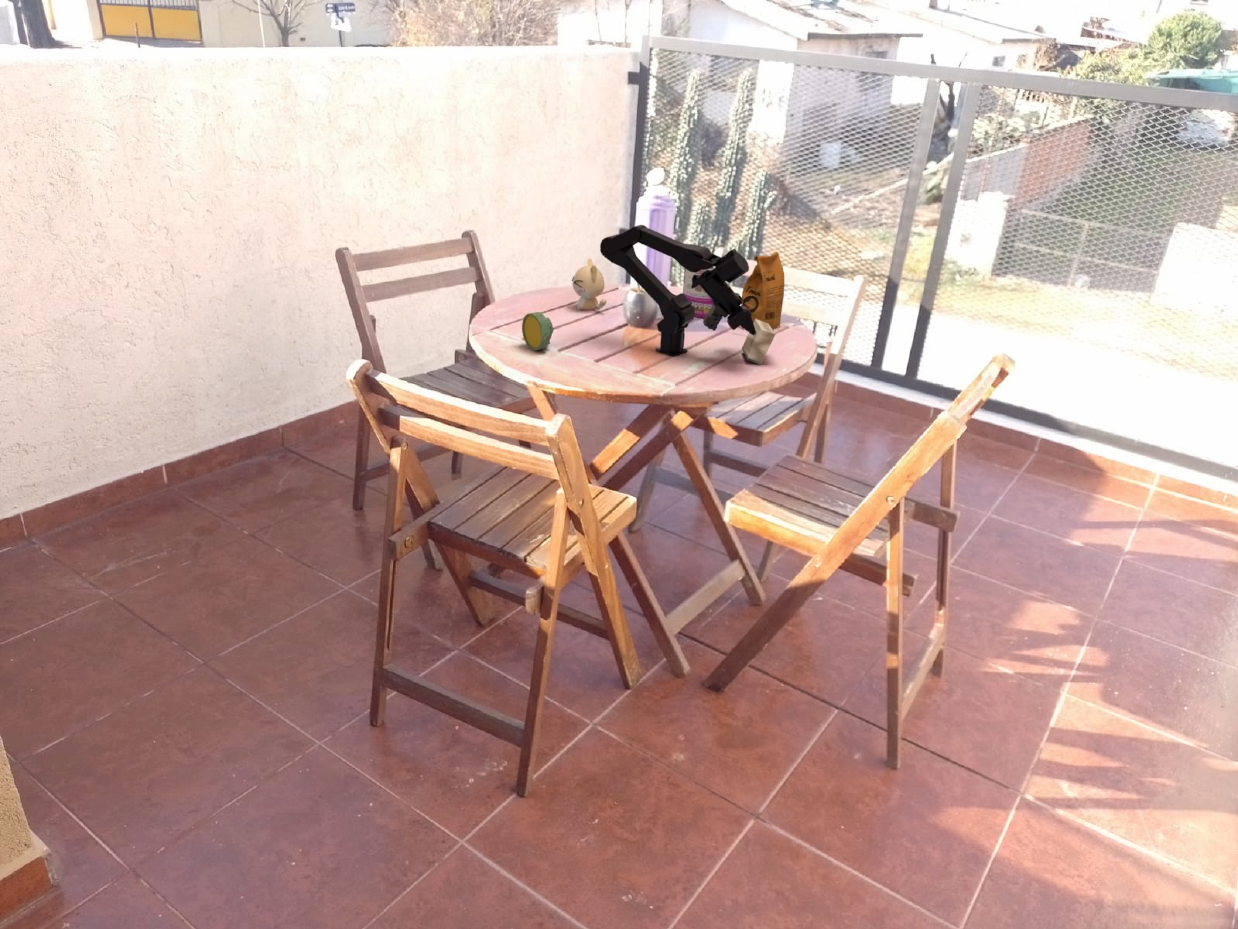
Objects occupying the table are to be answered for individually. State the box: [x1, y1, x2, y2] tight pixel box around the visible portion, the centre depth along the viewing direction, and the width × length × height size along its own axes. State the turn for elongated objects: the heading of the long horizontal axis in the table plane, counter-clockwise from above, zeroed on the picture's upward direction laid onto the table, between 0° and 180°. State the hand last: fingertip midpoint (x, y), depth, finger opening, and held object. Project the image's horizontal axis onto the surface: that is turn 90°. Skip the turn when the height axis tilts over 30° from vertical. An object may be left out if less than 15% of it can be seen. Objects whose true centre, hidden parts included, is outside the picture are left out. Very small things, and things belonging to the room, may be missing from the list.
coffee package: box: [741, 251, 786, 330], centre depth 269 cm, size 10×12×22 cm
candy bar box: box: [682, 267, 715, 319], centre depth 279 cm, size 11×5×16 cm, turn 62°
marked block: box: [741, 319, 776, 366], centre depth 243 cm, size 4×10×9 cm, turn 1°
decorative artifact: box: [521, 311, 555, 351], centre depth 244 cm, size 10×7×10 cm
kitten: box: [571, 258, 608, 311], centre depth 281 cm, size 15×10×15 cm
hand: (754, 333), depth 240 cm, fingers closed
